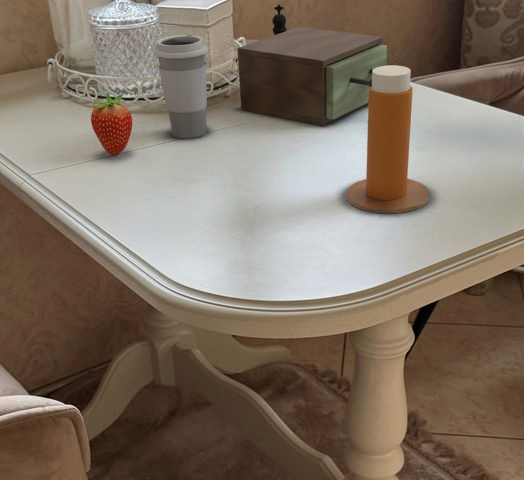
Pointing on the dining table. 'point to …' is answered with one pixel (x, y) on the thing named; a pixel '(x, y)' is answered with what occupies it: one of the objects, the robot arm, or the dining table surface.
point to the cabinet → (295, 71)
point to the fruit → (112, 124)
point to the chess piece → (279, 21)
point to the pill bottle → (388, 132)
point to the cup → (184, 83)
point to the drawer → (351, 80)
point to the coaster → (411, 201)
